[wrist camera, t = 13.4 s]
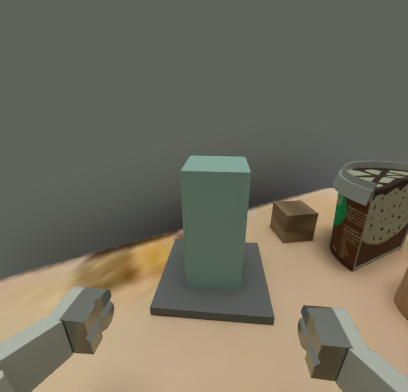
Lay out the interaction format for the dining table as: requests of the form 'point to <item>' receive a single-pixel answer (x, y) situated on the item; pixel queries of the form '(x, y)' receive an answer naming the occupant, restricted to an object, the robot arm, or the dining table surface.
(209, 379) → the dining table surface
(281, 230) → the walnut cube
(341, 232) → the food container
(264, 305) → the mat
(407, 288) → the tan rounded cylinder
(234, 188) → the tall green rectangular block
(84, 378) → the dining table surface
